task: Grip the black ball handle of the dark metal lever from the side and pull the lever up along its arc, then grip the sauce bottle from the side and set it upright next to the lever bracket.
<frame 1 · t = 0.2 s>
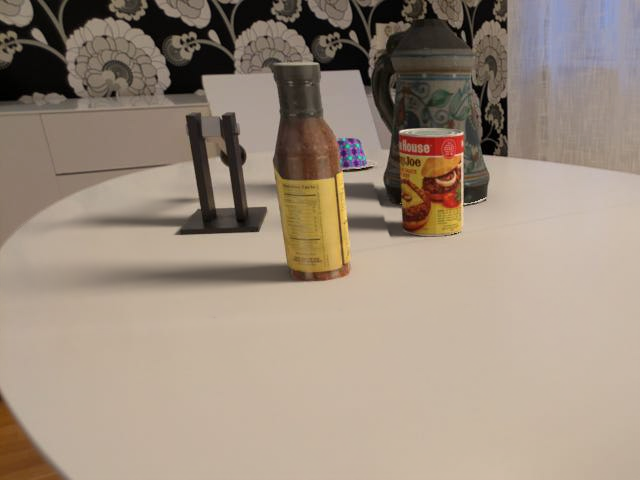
pudding: (346, 168, 132), on the table
bracket: (227, 227, 87), on the table
canned food: (433, 230, 87), on the table
sauce bottle: (320, 280, 67), on the table
lever: (224, 143, 89), point 10 cm above the table, hinge at -20.0°
beer stein: (428, 198, 106), on the table
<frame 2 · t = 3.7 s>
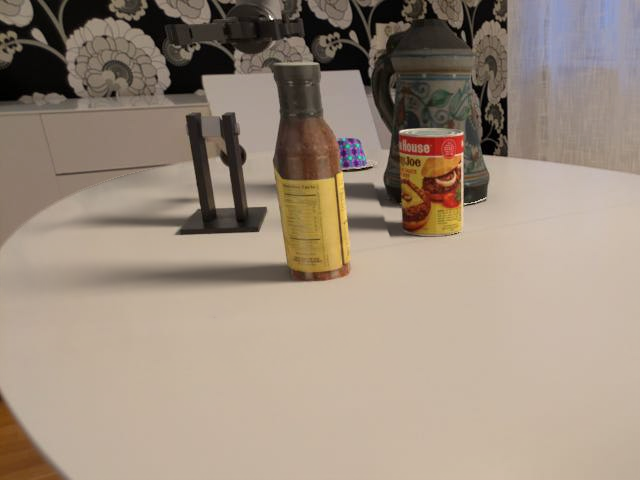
hand: (224, 32, 95), 23 cm above the table, tool horizontal, fingers open, 13 cm apart
nothing on the table moved.
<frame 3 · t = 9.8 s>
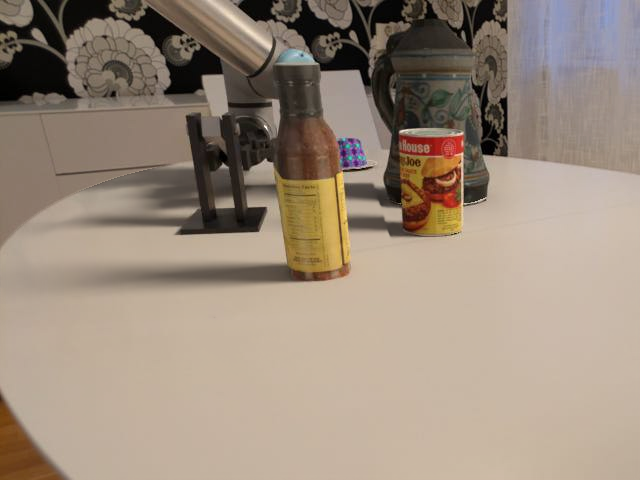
hand: (228, 160, 90), 7 cm above the table, tool horizontal, fingers closed on lever, 4 cm apart
lever: (224, 143, 89), point 10 cm above the table, hinge at -20.0°, touching gripper
everything else where it was.
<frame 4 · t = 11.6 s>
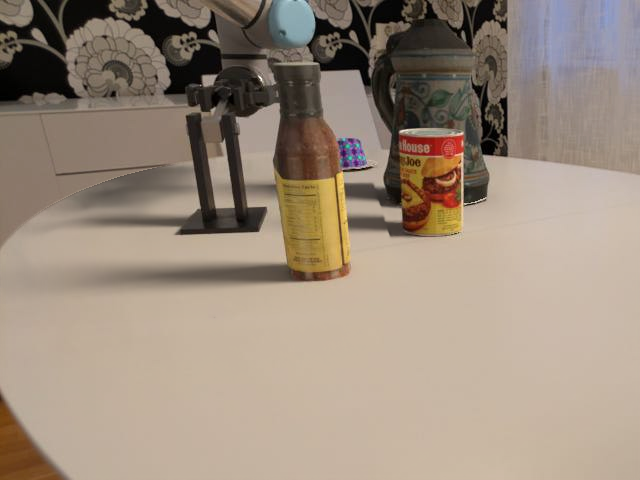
hand: (219, 100, 88), 15 cm above the table, tool horizontal, fingers closed on lever, 4 cm apart
lever: (220, 113, 87), point 13 cm above the table, hinge at 10.3°, touching gripper
everything else where it was.
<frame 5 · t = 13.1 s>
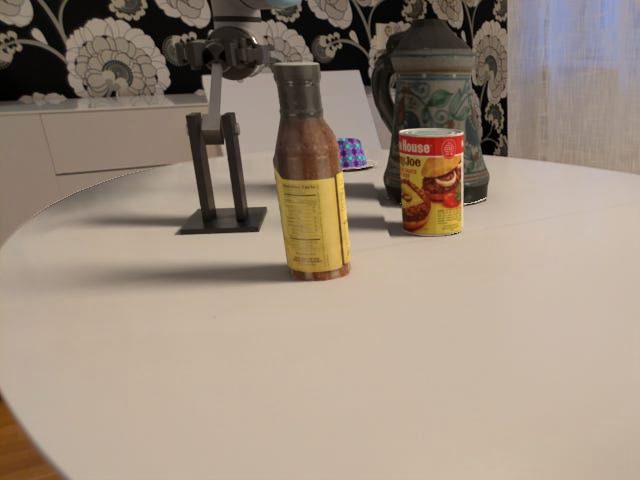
hand: (210, 54, 83), 20 cm above the table, tool horizontal, fingers closed on lever, 4 cm apart
lever: (215, 91, 85), point 16 cm above the table, hinge at 34.1°, touching gripper
everything else where it was.
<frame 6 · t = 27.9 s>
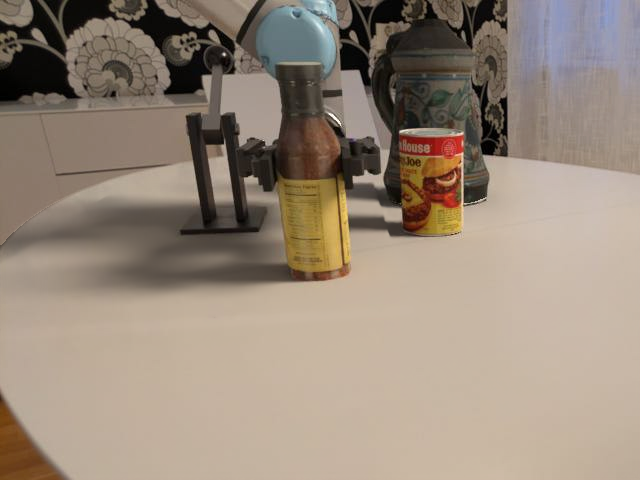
hand: (307, 174, 58), 11 cm above the table, tool horizontal, fingers closed on sauce bottle, 6 cm apart
sauce bottle: (320, 280, 67), on the table, touching gripper
lever: (215, 92, 85), point 16 cm above the table, hinge at 32.9°
everything else where it was.
when the fingers open (11 cm above the table, at t = 33.9 s): sauce bottle stays where it is, on the table.
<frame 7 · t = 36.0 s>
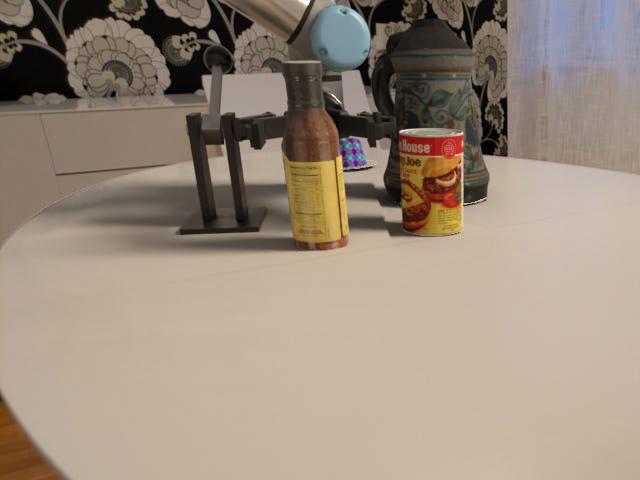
hand: (315, 136, 75), 12 cm above the table, tool horizontal, fingers open, 12 cm apart
sauce bottle: (321, 251, 77), on the table
everything else where it was.
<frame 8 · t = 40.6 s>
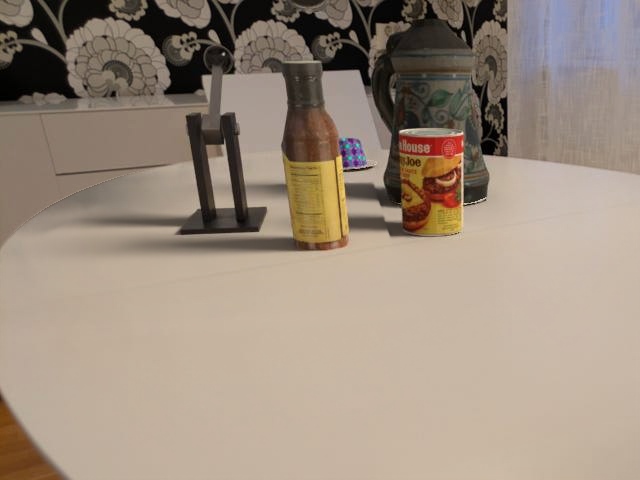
nothing on the table moved.
at the end: lever at +33° (first picture: -20°); sauce bottle inside the target area on the table beside the bracket (0.0 cm from its centre), on the table; sauce bottle tilted 0° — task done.
